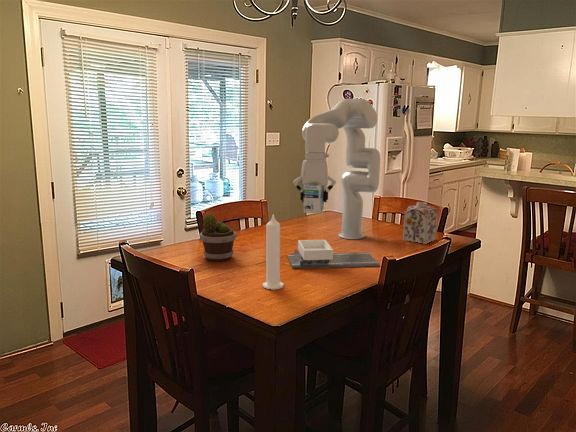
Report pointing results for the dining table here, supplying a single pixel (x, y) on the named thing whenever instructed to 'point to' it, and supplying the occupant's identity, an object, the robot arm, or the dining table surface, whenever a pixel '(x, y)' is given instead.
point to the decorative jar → (420, 223)
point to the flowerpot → (217, 239)
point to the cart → (315, 250)
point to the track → (334, 261)
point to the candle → (273, 255)
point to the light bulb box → (313, 198)
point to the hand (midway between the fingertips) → (314, 201)
